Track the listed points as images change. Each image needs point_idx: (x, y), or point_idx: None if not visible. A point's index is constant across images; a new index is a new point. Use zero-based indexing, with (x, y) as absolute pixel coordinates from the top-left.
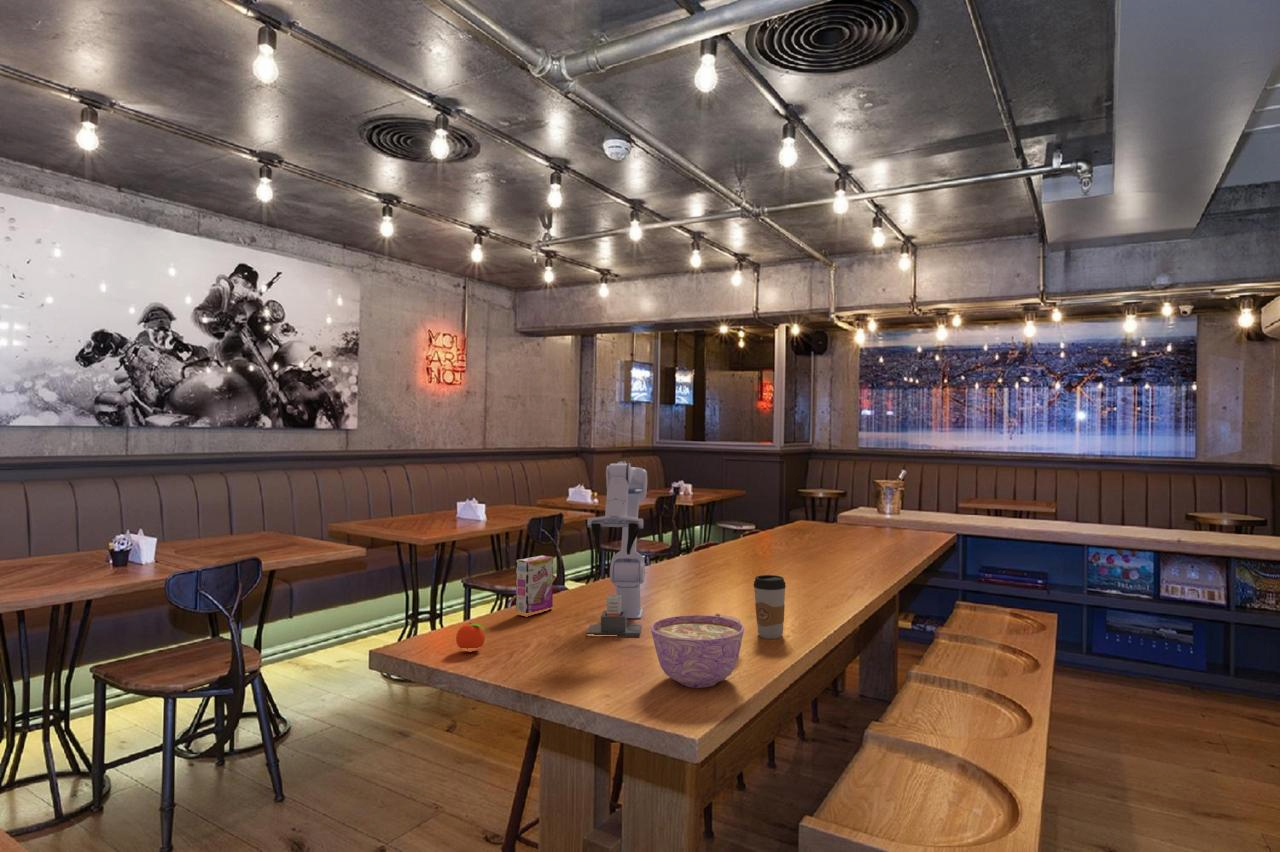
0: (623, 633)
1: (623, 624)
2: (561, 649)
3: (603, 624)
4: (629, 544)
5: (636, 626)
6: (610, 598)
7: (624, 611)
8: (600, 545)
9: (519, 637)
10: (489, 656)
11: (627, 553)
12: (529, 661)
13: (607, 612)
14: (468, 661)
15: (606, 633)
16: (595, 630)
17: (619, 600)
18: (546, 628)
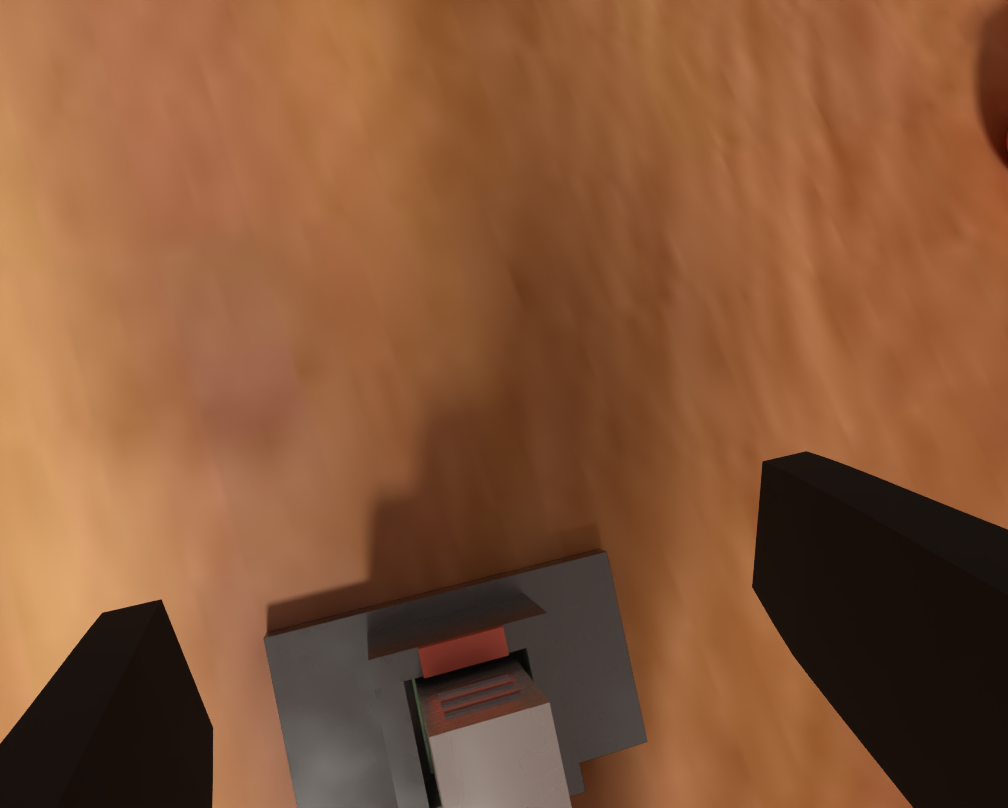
0: (373, 610)
1: (379, 642)
2: (638, 276)
3: (517, 606)
4: (29, 724)
5: (330, 791)
6: (515, 713)
7: None
8: (873, 709)
9: (937, 439)
10: (920, 103)
11: (187, 688)
12: (710, 57)
13: (517, 670)
14: (968, 19)
15: (482, 582)
16: (569, 615)
17: (432, 729)
18: None
